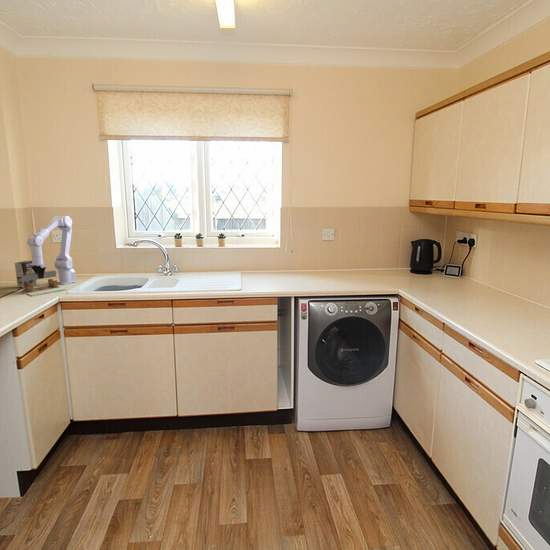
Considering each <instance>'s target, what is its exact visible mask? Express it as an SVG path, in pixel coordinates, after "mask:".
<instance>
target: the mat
mask: <svg viewBox="0 0 550 550" xmlns="http://www.w3.org/2000/svg"><path fill="white" fill-rule="evenodd" d="M66 289H67V287H62V286H59V288H53V289H47V290H42V291H36V292H31V293H26V295H27V294H28V296H30V297H35V295H36V296H40V295H41V294H42V295H47V294H52V293H51V292H53V293H57V292H56V291H58V292H62V290H63V291H67V290H66ZM46 293H47V294H46ZM42 295H41V296H42Z"/></svg>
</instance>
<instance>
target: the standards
mask: <svg viewBox="0 0 550 550" xmlns="http://www.w3.org/2000/svg"><path fill="white" fill-rule="evenodd" d="M47 282H48V285H46V286H40V287H39V286H38V287H34V286H33V284H29V283H23V284H24V288H23V290H22V292H23V293H25V292H26V294H27V293H31V292H36V291H42V290H47V289H53V288H59V287H60V286H58V284H59V283H57V282H58V280H57V279H53V278H47Z"/></svg>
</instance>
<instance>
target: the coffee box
mask: <svg viewBox="0 0 550 550" xmlns="http://www.w3.org/2000/svg"><path fill="white" fill-rule="evenodd" d="M31 264H32V260H23V261H20V262H19V261H18V262H14V269H15V275H16V283H17V288H18V287H22V288H21V289H24V284H23V283H29V284H33V287H34V285H35V286H37V285H38V283H37V280H31V281H23V279H22V275H26V274H32V273H35V272H34V270H33V269H32V268H31V267H34V265H31Z"/></svg>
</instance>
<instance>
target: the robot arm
mask: <svg viewBox="0 0 550 550" xmlns="http://www.w3.org/2000/svg"><path fill="white" fill-rule="evenodd" d="M56 228H58V229H60V230H61V240H60V249H59V255H57V256H56V259H55V261H54V267H55V268H56V270H57V272H58V280H59V281H57V283H58V284H60V285H66V284H73V283H77V278H76V275H77V274H76V270H75V269H74V268H73V266H74V264H73V258H72V257H71V255H70V249H71V240H72V231H73V219H72V218H71V217H70V216H69V215H59V216H58V215H55V216H54V217H53V218H51V221H50V222H49V223H48V224H47V225H46V226H45V227H44V228H39V229H38V231H37V232H36V233H34V234H33V236H30V237H29V236H28V238H27V241H26V243H27V245H28V247H29V248H30V253H31V254H30V256H31V261H32V264H31V265H34V267H31V268H32V269H33V270H34V272H35V273H38V276H39V279H38V280H42V279H41V278H43V277H44V272H46V268H47V267H46V266H45V262H44V258H43V257H44V256H43V249H42V246H43V245H44V241H45V240H46V239H47V238H48V237H49V236H50V233H51V232H52V231H53V230H54V229H56Z"/></svg>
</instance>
